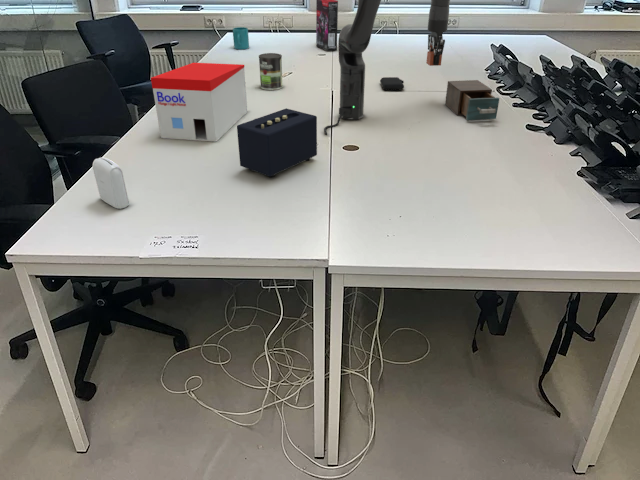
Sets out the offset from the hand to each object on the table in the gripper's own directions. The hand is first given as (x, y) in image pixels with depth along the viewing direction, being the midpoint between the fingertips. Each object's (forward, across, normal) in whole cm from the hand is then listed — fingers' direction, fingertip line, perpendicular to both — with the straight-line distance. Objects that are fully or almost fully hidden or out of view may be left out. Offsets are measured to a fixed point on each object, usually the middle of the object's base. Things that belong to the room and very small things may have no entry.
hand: (433, 63), depth 213 cm
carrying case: (+16, +26, +9) cm, 32 cm away
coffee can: (+17, +34, +64) cm, 74 cm away
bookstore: (+17, -14, +91) cm, 93 cm away
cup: (+17, +124, +77) cm, 147 cm away
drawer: (+15, -22, -12) cm, 29 cm away
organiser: (+16, -11, -12) cm, 23 cm away
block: (0, 0, 0) cm, 0 cm away
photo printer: (+17, -77, +112) cm, 137 cm away
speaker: (+17, -57, +66) cm, 89 cm away
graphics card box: (+16, +116, +26) cm, 120 cm away
